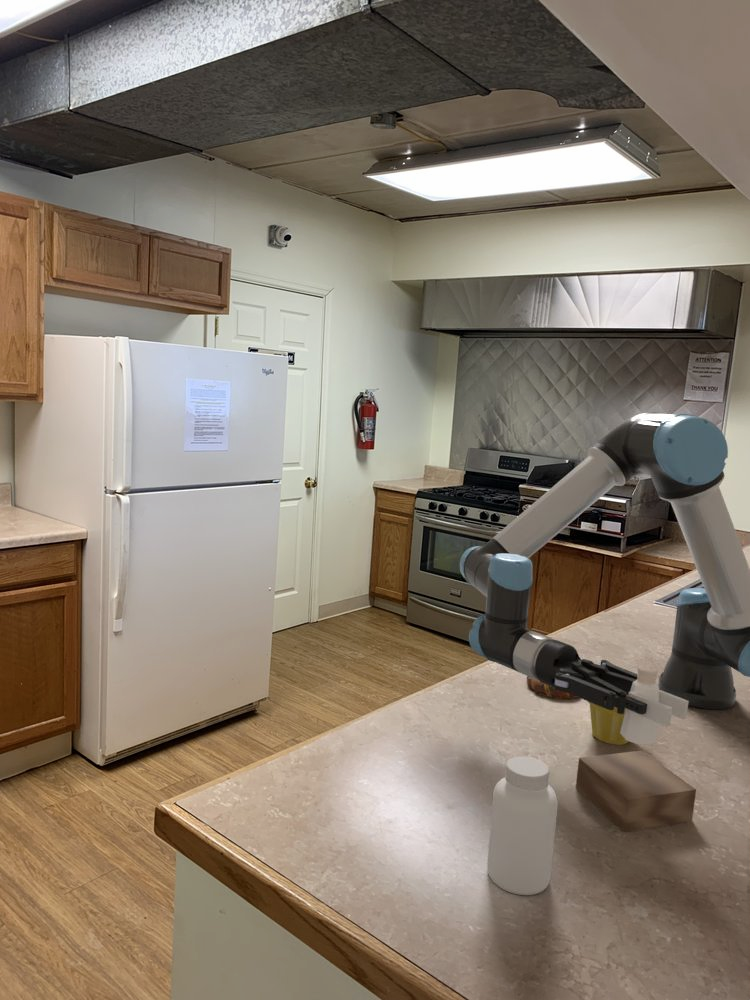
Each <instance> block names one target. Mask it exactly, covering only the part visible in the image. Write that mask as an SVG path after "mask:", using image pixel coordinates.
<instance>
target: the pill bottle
mask: <svg viewBox="0 0 750 1000" xmlns="http://www.w3.org/2000/svg"><path fill="white" fill-rule="evenodd" d="M504 774H505V777H503V778H501V779H500V780H498V782H497V783H496V784H495V787H494V789H493V793H492V805H491V815H490V817H491V818H490V826H489V827H490V829H489V841H488V852H487V853H488V854H487V872H488V876H489V878H490V879H491V881H492V882H493V883H494V884H495V885H496V886H497V887H499V888H501V889H502V890H504V891H506V892H509V893H511V894H514V895H520V896H532V895H537V894H540V893H542V892H543V891H544V890H546V888H547V887H548V886H549V884H550V881H551V876H552V866H553V864H552V863H553V857H554V844H555V834H556V825H557V815H558V814H557V813H558V805H559V803H558V798H557V797H558V796H557V795H556V792H555V791H554V788H553V787H552V786H551V785H550V784H549V780H550V768H549V767H548V765H547V764H546V763H545V762H543V761H542V760H539V759H538V758H534V757H531V756H514V757H511V758H510V759H508V760H507V761H506V764H505V773H504Z"/></svg>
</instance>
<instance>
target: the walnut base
mask: <svg viewBox="0 0 750 1000" xmlns="http://www.w3.org/2000/svg"><path fill="white" fill-rule="evenodd" d="M575 788H576V789H577V790H578V791H579V792H580V793H581V794H582V795H583V796H584V797H586V799H587V800H589V801H590V803H592V804H593V805H594V806H595V807H596V808H597V809H598V810H600V811H601V813H603V814H604V815H605V816H606V817H607V818H609V820H610V821H612V822H613V823H614V824H615V825H616V826H617V827H618V828H619V829H620V830H621V831H623V832H624V833H625V832H626V833H627V832H632V831H638V830H646V829H651V828H657V827H662V826H671V825H674V824H675V825H676V824H680V823H681V824H682V823H683V824H684V823H688V822H693V815H694V809H695V808H694V807H695V800H696V795H697V789H696V788H695V787H694V786H693V785H690V784H689V783H688V782H686V781H685V780H684V779H682V778H681V777H679V775H677V774H676V773H674V772H672V771H671V770H670V769H669V768H667V767H666V766H664V765H663V764H662V763H661V762H659V761H658V760H656V759H655V758H653V757H652V756H651V755H649V754H648V753H647V752H646V751H644V750H634V751H625V752H619V753H618V752H617V753H611V754H600V755H593V756H591V755H590V756H583V757H579V758H578V764H577V773H576V782H575Z"/></svg>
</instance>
